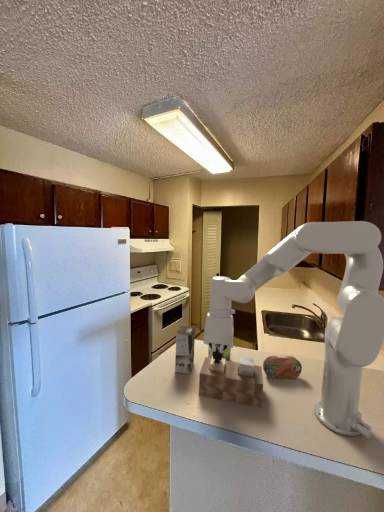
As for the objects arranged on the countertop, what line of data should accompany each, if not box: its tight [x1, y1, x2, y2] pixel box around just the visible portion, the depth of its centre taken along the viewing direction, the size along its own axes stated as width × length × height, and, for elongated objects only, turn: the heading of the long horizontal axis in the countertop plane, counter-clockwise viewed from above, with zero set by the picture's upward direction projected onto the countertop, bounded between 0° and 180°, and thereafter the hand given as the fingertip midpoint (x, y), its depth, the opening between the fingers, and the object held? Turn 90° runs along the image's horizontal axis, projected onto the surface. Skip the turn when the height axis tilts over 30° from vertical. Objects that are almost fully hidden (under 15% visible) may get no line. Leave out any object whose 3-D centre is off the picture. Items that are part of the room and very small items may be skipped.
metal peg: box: [238, 356, 255, 378], centre depth 80 cm, size 5×5×8 cm
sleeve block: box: [198, 356, 264, 409], centre depth 81 cm, size 21×11×8 cm, turn 76°
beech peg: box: [210, 357, 226, 373], centre depth 82 cm, size 5×5×8 cm
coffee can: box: [207, 344, 232, 361], centre depth 103 cm, size 10×10×14 cm
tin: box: [262, 355, 303, 380], centre depth 91 cm, size 15×3×8 cm, turn 92°
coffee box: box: [174, 325, 196, 375], centre depth 95 cm, size 9×6×16 cm
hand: (217, 361), depth 82 cm, fingers closed
